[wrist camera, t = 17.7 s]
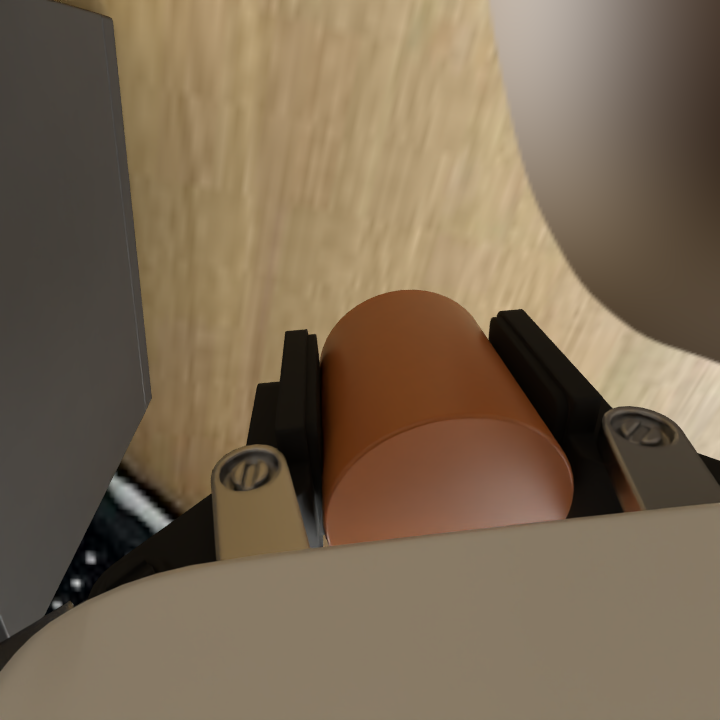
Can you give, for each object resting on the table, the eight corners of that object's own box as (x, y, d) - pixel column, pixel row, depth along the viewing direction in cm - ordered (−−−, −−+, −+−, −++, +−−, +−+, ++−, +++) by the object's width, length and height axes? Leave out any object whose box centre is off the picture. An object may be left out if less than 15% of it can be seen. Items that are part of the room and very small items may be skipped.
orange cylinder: (377, 455, 14) (406, 621, 10) (284, 351, 12) (268, 503, 8) (511, 380, 13) (609, 528, 9) (435, 253, 11) (513, 364, 7)
